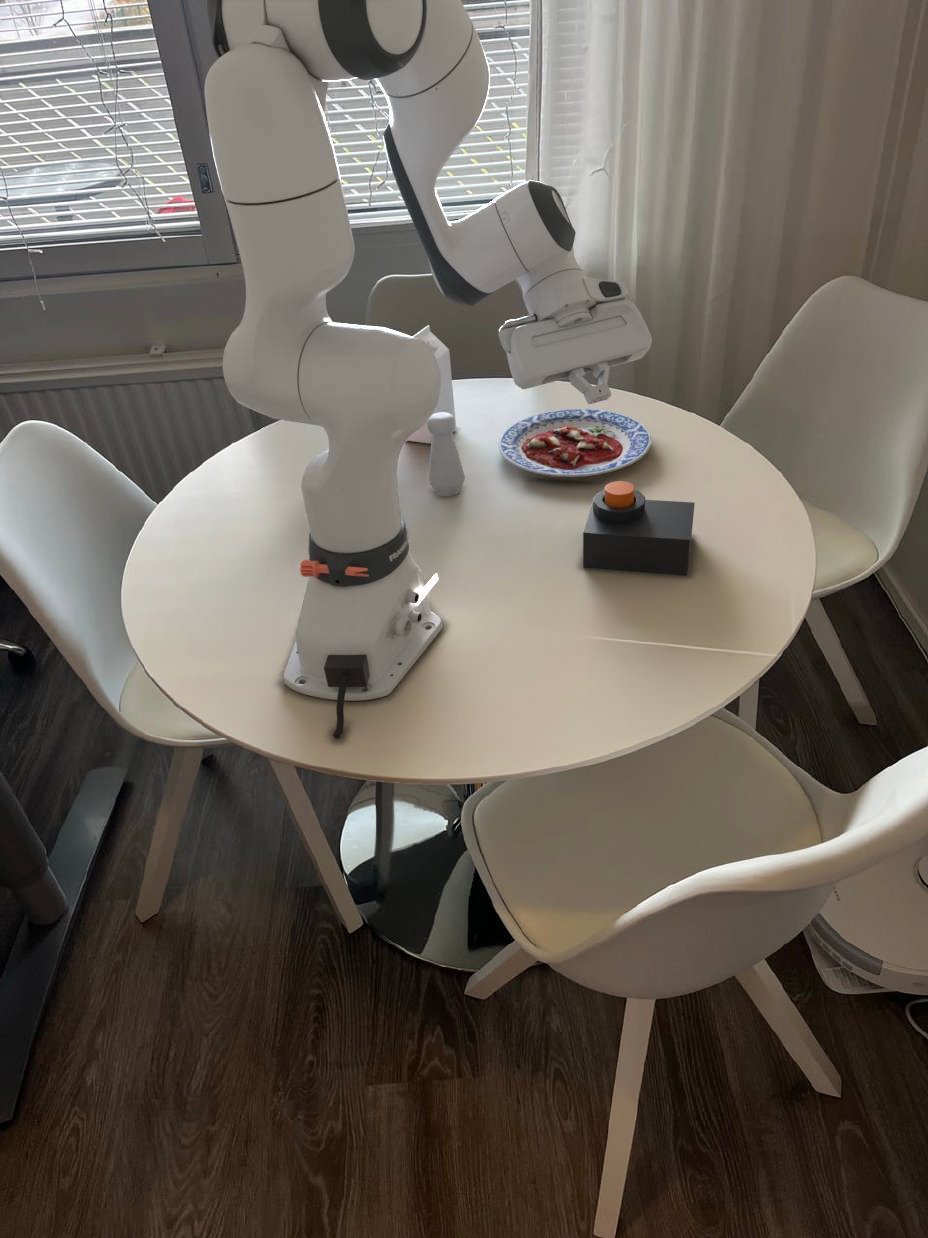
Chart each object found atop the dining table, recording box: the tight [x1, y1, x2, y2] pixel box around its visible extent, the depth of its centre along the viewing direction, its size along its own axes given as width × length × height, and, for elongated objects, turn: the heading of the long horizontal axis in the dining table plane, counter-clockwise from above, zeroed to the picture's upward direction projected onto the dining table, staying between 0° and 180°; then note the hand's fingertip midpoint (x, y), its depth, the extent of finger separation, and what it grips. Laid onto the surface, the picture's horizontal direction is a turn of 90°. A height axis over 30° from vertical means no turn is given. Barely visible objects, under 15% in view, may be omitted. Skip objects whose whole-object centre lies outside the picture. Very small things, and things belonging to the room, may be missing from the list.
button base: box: [582, 488, 695, 577], centre depth 120 cm, size 14×10×8 cm
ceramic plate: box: [498, 408, 652, 478], centre depth 148 cm, size 26×26×3 cm
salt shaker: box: [427, 412, 466, 498], centre depth 138 cm, size 6×6×13 cm
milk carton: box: [406, 324, 457, 445], centre depth 154 cm, size 7×7×19 cm
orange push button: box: [604, 480, 636, 508], centre depth 120 cm, size 4×4×2 cm
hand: (600, 400), depth 116 cm, fingers closed
